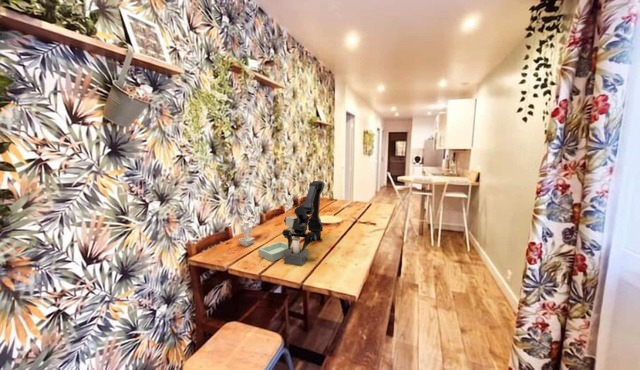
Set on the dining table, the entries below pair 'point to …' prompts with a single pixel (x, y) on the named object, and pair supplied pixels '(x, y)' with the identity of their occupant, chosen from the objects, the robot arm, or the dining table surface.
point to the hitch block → (296, 257)
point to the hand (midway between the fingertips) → (295, 249)
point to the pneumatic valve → (290, 222)
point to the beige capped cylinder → (296, 245)
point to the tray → (274, 251)
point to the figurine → (246, 234)
